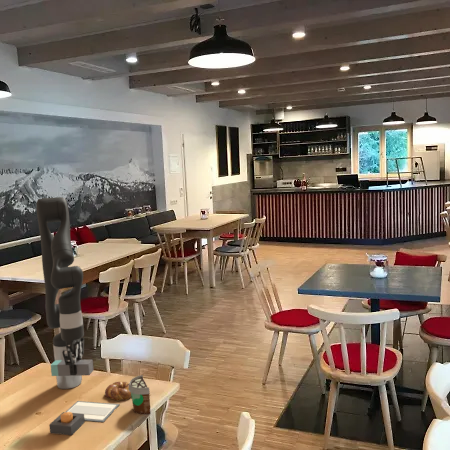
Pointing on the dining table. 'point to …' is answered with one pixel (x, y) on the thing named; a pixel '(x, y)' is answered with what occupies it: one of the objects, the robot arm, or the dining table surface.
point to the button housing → (67, 425)
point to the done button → (66, 417)
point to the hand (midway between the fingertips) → (76, 371)
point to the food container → (140, 395)
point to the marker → (63, 370)
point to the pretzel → (118, 391)
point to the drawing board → (93, 410)
